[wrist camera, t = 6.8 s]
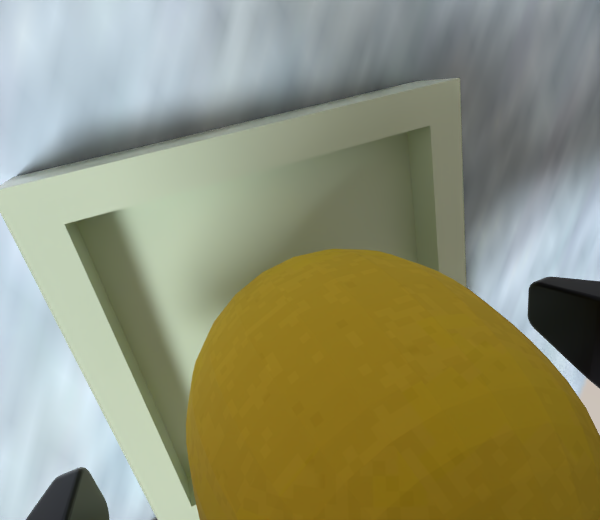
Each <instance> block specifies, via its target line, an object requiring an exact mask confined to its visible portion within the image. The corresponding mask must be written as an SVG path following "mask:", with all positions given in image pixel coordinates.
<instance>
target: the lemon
mask: <svg viewBox="0 0 600 520" xmlns="http://www.w3.org/2000/svg"><path fill="white" fill-rule="evenodd" d="M186 445H187V452H188V460H189V467H190V473H191V478H192V484H193V490H194V496H195V501H196V506H197V510H198V514H199V518H200V520H600V435H599V433H598V432H597V429H596V428H595V425H594V423H593V421H592V419H591V417H590V416H589V413H588V411H587V409H586V407H585V406H584V405H583V403H582V402H581V400H580V399H579V397H578V396H577V394H576V393H575V392H574V390H573V389H572V387H571V386H570V384H569V383H568V381H567V380H566V379H565V378H564V377H563V376H562V374H561V373H560V372H559V371H558V370H557V368H556V367H555V366H554V365H553V364H552V363H551V361H550V360H549V359H548V358H547V357H546V356H545V355H544V354H543V353H542V352H541V351H540V350H539V349H538V348H537V347H536V346H535V345H534V344H533V343H532V342H531V341H530V340H529V339H528V338H527V337H526V336H525V335H524V334H523V333H522V332H521V331H519V330H518V329H517V328H516V327H515V326H514V325H513V324H512V323H510V322H509V321H508V320H507V319H506V318H504V317H503V316H502V315H501V314H499V313H498V312H497V311H496V310H495V309H493V308H492V307H491V306H490V305H488V304H487V303H486V302H485V301H483V300H482V299H481V298H479V297H478V296H477V295H476V294H474V293H473V292H472V291H471V290H469V289H468V288H466V287H465V286H463V285H461V284H460V283H458V282H457V281H455V280H454V279H452V278H450V277H448V276H446V275H444V274H442V273H440V272H438V271H436V270H434V269H431V268H429V267H426V266H424V265H421V264H418V263H415V262H412V261H409V260H406V259H403V258H400V257H397V256H395V255H392V254H388V253H384V252H380V251H374V250H361V249H327V250H322V251H318V252H313V253H309V254H304V255H300V256H295V257H292V258H290V259H288V260H286V261H284V262H282V263H280V264H278V265H276V266H274V267H272V268H270V269H268V270H266V271H264V272H262V273H261V274H260V275H259V276H257V277H256V278H255V279H254V280H252V281H251V282H250V283H249V284H248V285H246V286H245V287H244V288H243V289H241V290H240V291H239V292H238V293H236V294H235V296H234V297H233V298H232V299H231V301H230V302H229V303H228V305H227V306H226V307H225V308H224V310H223V311H222V312H221V313H220V315H219V316H218V317H217V318H216V320H215V321H214V323H213V325H212V327H211V329H210V331H209V333H208V335H207V338H206V340H205V342H204V344H203V346H202V349H201V351H200V353H199V355H198V357H197V360H196V362H195V366H194V370H193V375H192V381H191V388H190V394H189V401H188V408H187V418H186Z"/></svg>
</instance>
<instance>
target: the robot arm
mask: <svg viewBox="0 0 600 520" xmlns="http://www.w3.org/2000/svg"><path fill="white" fill-rule="evenodd" d="M528 319H529V321H530V324H531V325H532V326H533V327H534V329H536V330H537V331H538V332H539V333H540V334H541V335H542V336H543V337H544V338H545V339H546V340H547V341H548V342H549V343H550V344H551V345H552V346H554V347H555V348H556V349H557V350H558V351H559V352H560V353H561V354H562V355H563V356H564V357H565V358H566V359H567V360H568V361H569V362H570V363H572V364H573V365H574V366H575V367H576V368H577V369H578V370H579V371H580V372H581V373H582V374H583V375H584V376H586V377H587V378H588V379H589V380H590V381H591V382H593V383H594V384H595V385H596V386H597V387H599V388H600V281H590V280H580V279H570V278H559V277H546V278H543V279H541V280H538V281H536V282H534V283H532V284H531V285H530V287H529V297H528ZM26 520H109V512H108V507H107V503H106V501H105V499H104V497H103V495H102V493H101V491H100V490H99V488H98V486H97V485H96V483H95V481H94V479H93V478H92V476H91V474H90V472H89V471H88V470H87V469H86V468H83V467H80V468H77V469H75V470H72V471H70V472H67V473H65V474H62V475H60V476H58V477H57V478H56V479H55V480H54V481H53V482H52V483H51V485H50V486H49V488H48V489H47V490H46V492H45V493H44V495H43V496H42V497H41V499H40V500H39V502H38V503H37V505H36V506H35V507H34V509H33V510H32V512H31V513H30V514H29V516H28V517H27V519H26Z"/></svg>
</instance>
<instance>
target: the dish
mask: <svg viewBox="0 0 600 520" xmlns="http://www.w3.org/2000/svg"><path fill="white" fill-rule="evenodd" d="M0 213H1V215H2V217H3V219H4V221H5V223H6V224H7V226H8V228H9V230H10V232H11V234H12V236H13V238H14V240H15V242H16V244H17V246H18V248H19V250H20V252H21V254H22V256H23V258H24V260H25V262H26V264H27V266H28V267H29V269H30V271H31V273H32V275H33V277H34V279H35V281H36V283H37V285H38V287H39V289H40V291H41V293H42V295H43V297H44V299H45V301H46V303H47V305H48V307H49V308H50V310H51V312H52V314H53V316H54V318H55V320H56V322H57V324H58V326H59V328H60V330H61V332H62V334H63V336H64V338H65V340H66V342H67V344H68V346H69V348H70V350H71V351H72V353H73V355H74V357H75V359H76V361H77V363H78V365H79V367H80V369H81V371H82V373H83V375H84V377H85V379H86V381H87V383H88V385H89V387H90V389H91V391H92V393H93V394H94V396H95V398H96V400H97V402H98V404H99V406H100V408H101V410H102V412H103V414H104V416H105V418H106V420H107V422H108V424H109V426H110V428H111V430H112V432H113V434H114V435H115V437H116V439H117V441H118V443H119V445H120V447H121V449H122V451H123V453H124V455H125V457H126V459H127V461H128V463H129V465H130V467H131V469H132V471H133V473H134V475H135V477H136V478H137V480H138V482H139V484H140V486H141V488H142V490H143V492H144V494H145V496H146V498H147V500H148V502H149V504H150V506H151V508H152V510H153V512H154V514H155V516H156V518H157V519H158V520H200V518H199V514H198V510H197V506H196V501H195V496H194V490H193V484H192V478H191V473H190V467H189V460H188V452H187V445H186V418H187V408H188V401H189V394H190V388H191V381H192V375H193V370H194V366H195V362H196V360H197V357H198V355H199V353H200V351H201V349H202V346H203V344H204V342H205V340H206V338H207V335H208V333H209V331H210V329H211V327H212V325H213V323H214V321H215V320H216V318H217V317H218V316H219V315H220V313H221V312H222V311H223V310H224V308H225V307H226V306H227V305H228V303H229V302H230V301H231V299H232V298H233V297H234V296H235V294H236V293H238V292H239V291H240V290H241V289H243V288H244V287H245V286H246V285H248V284H249V283H250V282H251V281H252V280H254V279H255V278H256V277H257V276H259V275H260V274H261V273H262V272H264V271H266V270H268V269H270V268H272V267H274V266H276V265H278V264H280V263H282V262H284V261H286V260H288V259H290V258H292V257H295V256H300V255H304V254H309V253H313V252H318V251H322V250H327V249H361V250H374V251H380V252H384V253H388V254H392V255H395V256H397V257H400V258H403V259H406V260H409V261H412V262H415V263H418V264H421V265H424V266H426V267H429V268H431V269H434V270H436V271H438V272H440V273H442V274H444V275H446V276H448V277H450V278H452V279H454V280H455V281H457V282H458V283H460V284H461V285H463V286H465V287H466V260H465V226H464V193H463V160H462V126H461V93H460V78H450V79H436V80H422V81H415V82H411V83H407V84H402V85H398V86H394V87H390V88H386V89H381V90H377V91H373V92H369V93H365V94H360V95H356V96H352V97H348V98H343V99H339V100H335V101H331V102H327V103H322V104H318V105H314V106H310V107H306V108H301V109H297V110H293V111H289V112H285V113H280V114H276V115H272V116H268V117H264V118H259V119H255V120H251V121H247V122H243V123H238V124H234V125H230V126H226V127H222V128H217V129H213V130H209V131H205V132H201V133H196V134H192V135H188V136H184V137H180V138H175V139H171V140H167V141H163V142H158V143H154V144H150V145H146V146H142V147H137V148H133V149H129V150H125V151H121V152H116V153H112V154H108V155H104V156H100V157H95V158H91V159H87V160H83V161H79V162H74V163H70V164H66V165H62V166H58V167H53V168H49V169H45V170H41V171H37V172H32V173H28V174H24V175H20V176H16V177H13V178H11V179H10V180H8V181H6V182H5V183H3V184H2V185H0Z"/></svg>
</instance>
